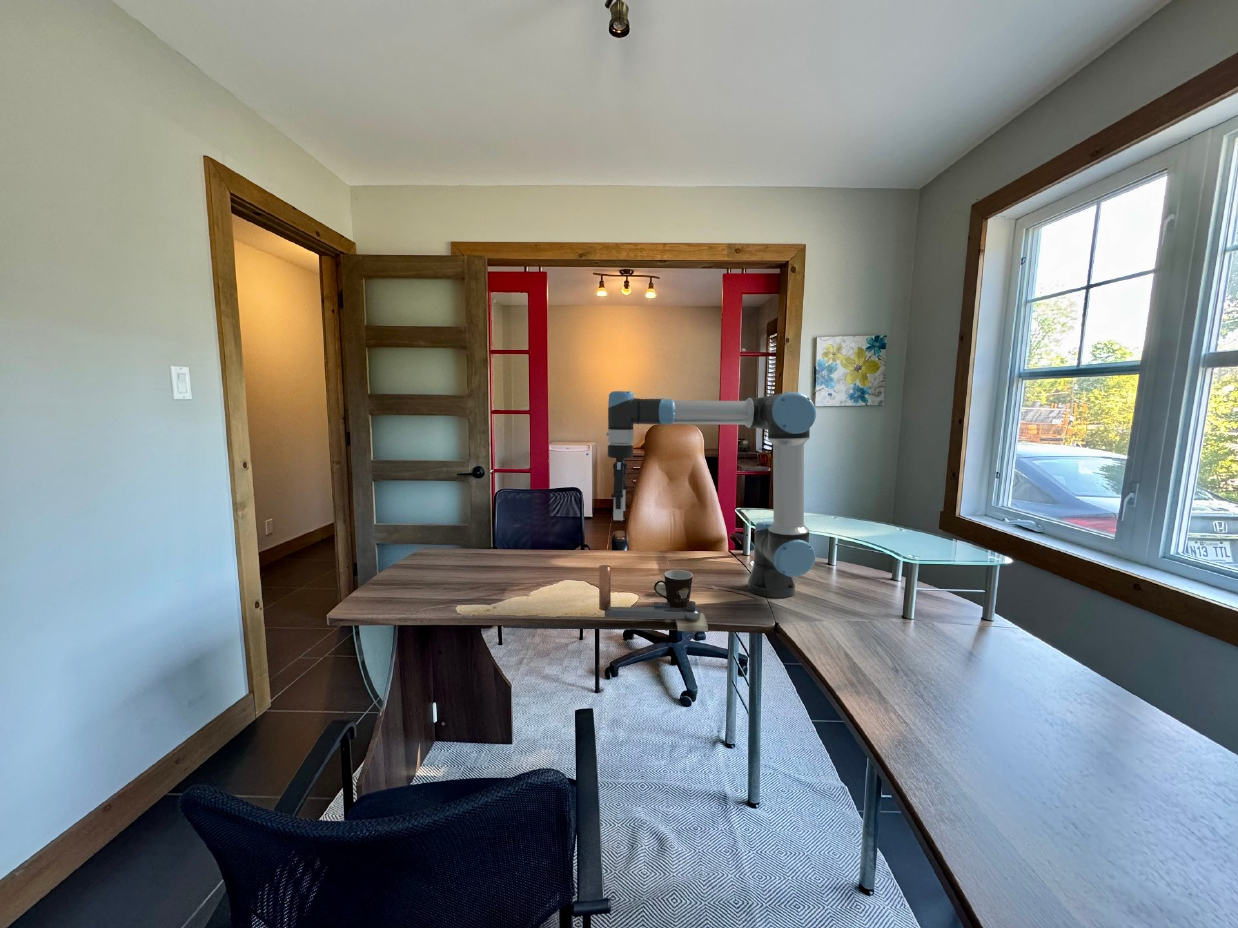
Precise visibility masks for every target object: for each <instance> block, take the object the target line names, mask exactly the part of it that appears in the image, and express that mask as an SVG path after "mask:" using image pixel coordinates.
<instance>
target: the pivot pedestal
mask: <svg viewBox="0 0 1238 928" xmlns="http://www.w3.org/2000/svg"><path fill="white" fill-rule="evenodd" d="M695 607H696V602H695V600H694V601H693V600H689V601H688V602H687V610H689V611H695ZM675 623H676V628H677V632H709V629H708V628H709V625H708V623H707V619H706V616H705V614H704V613H701V612H700V619H699V620H696V621H689V620H686V619H675Z"/></svg>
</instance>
